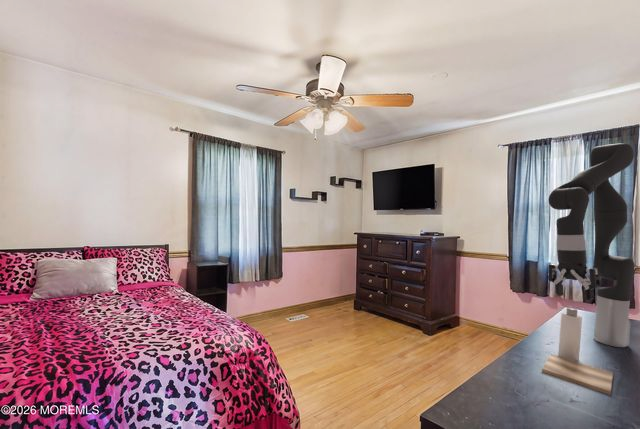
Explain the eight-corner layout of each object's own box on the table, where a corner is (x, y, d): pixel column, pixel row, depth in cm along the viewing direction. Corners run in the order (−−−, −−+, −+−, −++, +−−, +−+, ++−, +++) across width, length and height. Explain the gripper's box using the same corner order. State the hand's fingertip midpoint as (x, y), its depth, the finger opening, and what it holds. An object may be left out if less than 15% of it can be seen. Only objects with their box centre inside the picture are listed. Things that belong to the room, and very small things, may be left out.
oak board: (550, 356, 104) (551, 353, 104) (612, 375, 93) (613, 372, 93) (541, 371, 93) (542, 368, 93) (610, 395, 83) (610, 391, 83)
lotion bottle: (569, 353, 108) (572, 307, 107) (583, 361, 102) (587, 312, 102) (554, 352, 107) (557, 306, 107) (567, 360, 102) (571, 311, 102)
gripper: (603, 249, 98) (607, 301, 98) (556, 246, 112) (559, 292, 111) (588, 250, 96) (591, 304, 95) (541, 247, 109) (544, 294, 109)
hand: (573, 298), depth 103 cm, fingers open, 8 cm apart
